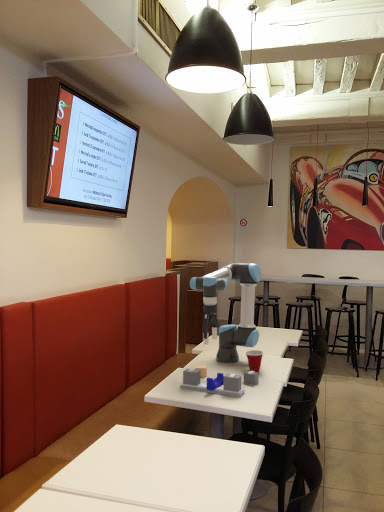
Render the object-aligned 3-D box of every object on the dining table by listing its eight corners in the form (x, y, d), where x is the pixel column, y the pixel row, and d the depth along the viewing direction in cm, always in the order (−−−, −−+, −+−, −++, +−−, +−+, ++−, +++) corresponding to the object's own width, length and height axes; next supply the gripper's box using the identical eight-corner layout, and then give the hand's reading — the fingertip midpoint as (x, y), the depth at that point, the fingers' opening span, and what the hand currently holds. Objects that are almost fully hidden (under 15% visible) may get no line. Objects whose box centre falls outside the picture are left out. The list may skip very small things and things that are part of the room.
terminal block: (196, 374, 270) (196, 365, 270) (206, 374, 269) (206, 366, 269) (195, 376, 266) (195, 367, 265) (205, 377, 265) (205, 368, 264)
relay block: (247, 381, 257) (247, 370, 257) (258, 383, 253) (258, 372, 253) (243, 383, 253) (243, 371, 253) (254, 385, 249) (255, 374, 249)
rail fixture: (185, 384, 250) (185, 367, 249) (244, 393, 236) (244, 374, 235) (179, 388, 244) (180, 370, 243) (240, 397, 230) (240, 378, 229)
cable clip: (216, 383, 245) (216, 372, 245) (223, 384, 243) (223, 373, 242) (204, 389, 235) (204, 377, 235) (211, 390, 233) (211, 379, 233)
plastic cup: (241, 370, 279) (242, 350, 278) (256, 368, 283) (257, 349, 283) (251, 374, 269) (251, 354, 268) (266, 372, 273) (267, 353, 273)
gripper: (211, 300, 269) (211, 336, 270) (195, 307, 246) (195, 346, 247) (223, 301, 266) (223, 337, 267) (208, 308, 243) (208, 347, 244)
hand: (210, 341), depth 257 cm, fingers open, 13 cm apart
